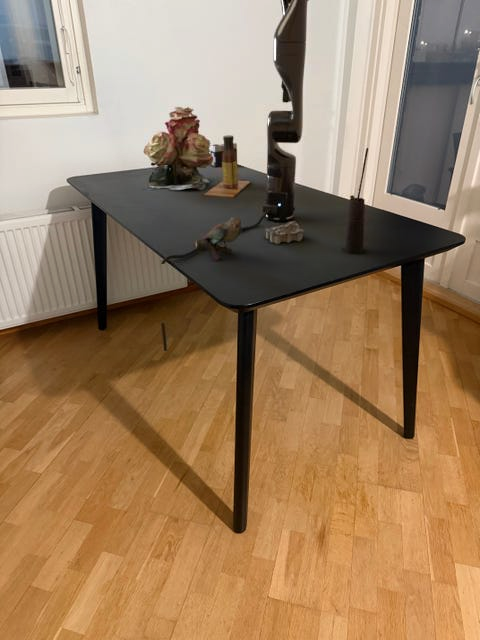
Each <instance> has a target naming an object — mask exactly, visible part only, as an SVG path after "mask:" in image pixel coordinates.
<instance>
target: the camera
mask: <svg viewBox="0 0 480 640" xmlns="http://www.w3.org/2000/svg"><path fill="white" fill-rule="evenodd" d="M233 146H234V149H235V151H236V154H237V155H238V144H237V142H233ZM209 149H210V152H209V153H210V155H212V157H213V163H212V164H211V165H210V166H211V167H213V168H218V167H222V152H223V150H224V143H219V144H218V143H217V144H216V143H215V144H214V143H213V144H211V145H210V146H209Z"/></svg>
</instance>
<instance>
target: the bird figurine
mask: <svg viewBox="0 0 480 640" xmlns="http://www.w3.org/2000/svg"><path fill="white" fill-rule="evenodd" d="M241 225H242V219H241V217H238V216H232V217H230V219H229V220H228V221H225V222H222V223H219V224H216V225H215V226H214V227H212V229H211V230H210V231H209V232H208V233H207V234H206V235H204V236H202V237H199V238H198V239H196V240H195V248H202V250H207V251H209V252H210V253H211V255H212V258H214V260H215V261H217V260H219V259H220V258H221V255H218V253H217V252H220V253H223V254H224V253H225V254H226V255H228V254H230V255H231V254H232V253H233V248H229V247H227V244H226V243H233V242H235V241H236V240H237V239H238V237H239V236H240V235H241V233H242V231H243V230H242V226H241ZM219 242H222V243H223V244H224V246H220V245H218V243H219Z"/></svg>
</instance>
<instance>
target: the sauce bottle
mask: <svg viewBox="0 0 480 640" xmlns="http://www.w3.org/2000/svg"><path fill="white" fill-rule="evenodd" d="M234 139H235V138H234V135H229V134H227V135H223V136H222V140H223V144H224V150H223V152H222V166H221V169H222V171H221V172H222V181H223V184H224V187H225V188H236V187H238V181H239V170H238V169H239V168H238V153H237V154H236V151H235V149H234V146H233V143H234Z"/></svg>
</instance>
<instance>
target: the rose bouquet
mask: <svg viewBox="0 0 480 640" xmlns="http://www.w3.org/2000/svg"><path fill="white" fill-rule="evenodd" d="M193 111H194V108H191V107H189V106H187V107H185V108H184V107H182V106H175V107H174V109H173V110H171V111H169V112H168V113H169V114H168V115H169V118H170V119H169V120H168V121H165V122H164V125H165V126H166V130H167V132H166V131H161V130H159V131H157V132H156V133H155V134H153V136H152V138H151V140H149V141H148V142H147V145H145V146H144V149H143V154H144V155H147V156H148V158H149V159H150V161H151V163H150V166H152V167H155V166H156V167H155V168H153V171H152V172H151V175H150V176H149V178H148V187H149V188H154V189H169V190H171V191H182V190H185V189H197V190H198V191H202V190H204V189H206V186H207V184H209V183H210V180H208V179H207V177H204V175H203V174H202V173H200V172H199V170H198V168H199V169H206V168H207V167H208V166H211V164H212V163H213V157H212V155H210V146H211V141H210V140H209V139H208V138H207V137H206V136H204V135H202V134H200V133H199V132H200V131H199V128H200V122H201V121H200V119H199V118H198V115H196V114H194V113H193Z"/></svg>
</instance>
